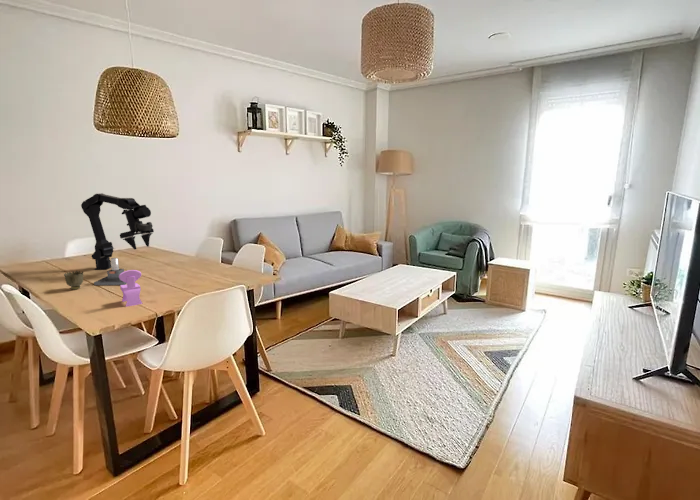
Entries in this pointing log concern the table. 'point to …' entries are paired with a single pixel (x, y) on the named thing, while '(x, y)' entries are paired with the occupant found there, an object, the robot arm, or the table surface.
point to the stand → (111, 278)
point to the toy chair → (130, 287)
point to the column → (114, 264)
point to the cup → (74, 279)
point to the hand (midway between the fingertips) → (141, 247)
